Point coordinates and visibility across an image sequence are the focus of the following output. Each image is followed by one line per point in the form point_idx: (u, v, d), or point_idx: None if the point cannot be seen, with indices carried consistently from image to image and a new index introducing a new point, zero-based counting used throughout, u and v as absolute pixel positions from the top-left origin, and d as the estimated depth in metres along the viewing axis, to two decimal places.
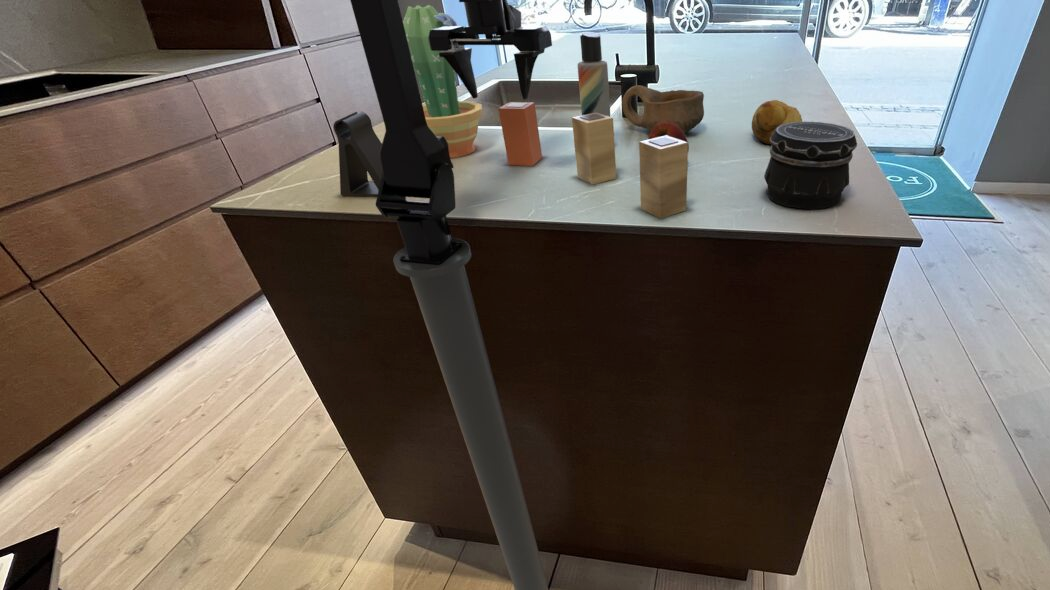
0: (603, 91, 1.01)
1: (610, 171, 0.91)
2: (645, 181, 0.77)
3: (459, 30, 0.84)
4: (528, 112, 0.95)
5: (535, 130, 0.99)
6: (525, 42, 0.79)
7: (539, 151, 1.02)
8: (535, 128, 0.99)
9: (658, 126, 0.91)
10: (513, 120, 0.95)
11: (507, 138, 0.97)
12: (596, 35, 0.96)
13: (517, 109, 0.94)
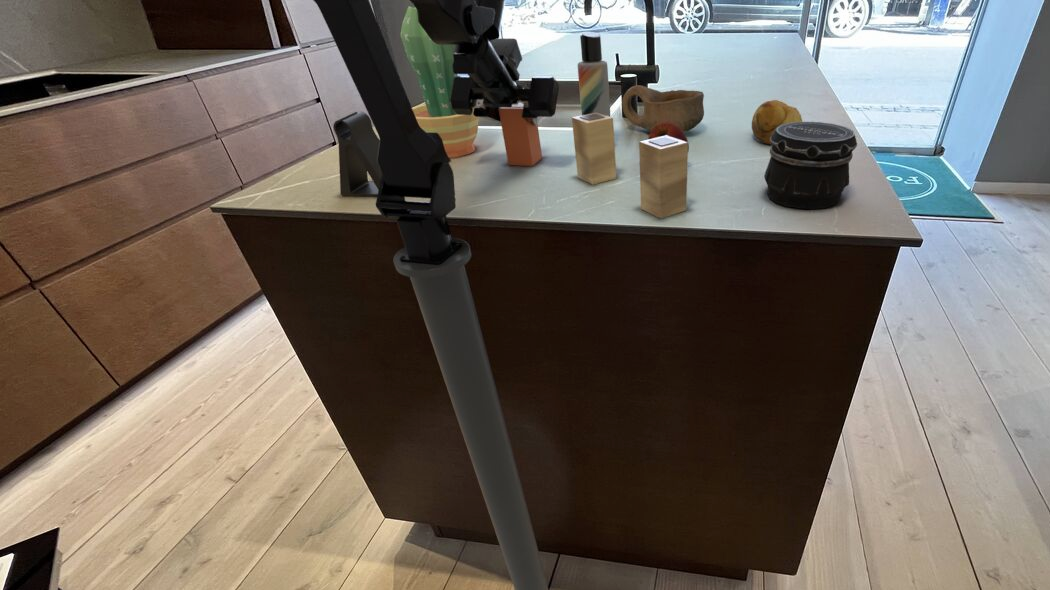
0: (603, 91, 1.01)
1: (610, 171, 0.91)
2: (645, 181, 0.77)
3: None
4: None
5: (535, 130, 0.99)
6: (541, 112, 0.89)
7: (539, 151, 1.02)
8: (535, 128, 0.99)
9: (658, 126, 0.91)
10: (513, 120, 0.95)
11: (507, 138, 0.97)
12: (596, 35, 0.97)
13: (517, 109, 0.94)
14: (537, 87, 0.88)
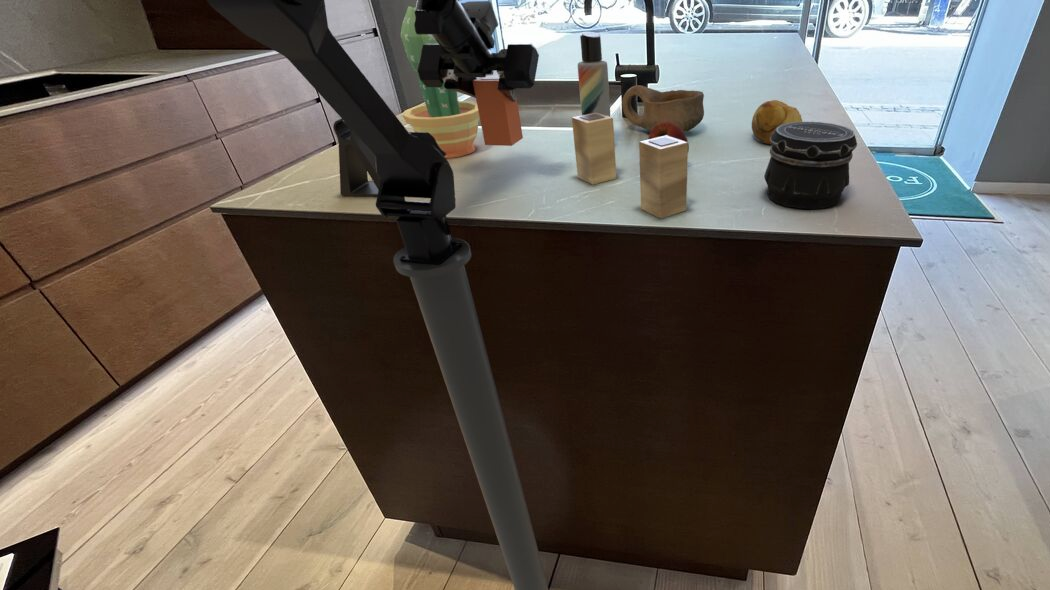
0: (603, 91, 1.01)
1: (610, 171, 0.91)
2: (645, 181, 0.77)
3: None
4: None
5: (514, 107, 0.90)
6: (518, 83, 0.80)
7: (519, 130, 0.92)
8: (514, 104, 0.90)
9: (658, 126, 0.91)
10: (489, 94, 0.86)
11: (482, 114, 0.88)
12: (596, 35, 0.97)
13: (493, 81, 0.85)
14: (514, 54, 0.79)
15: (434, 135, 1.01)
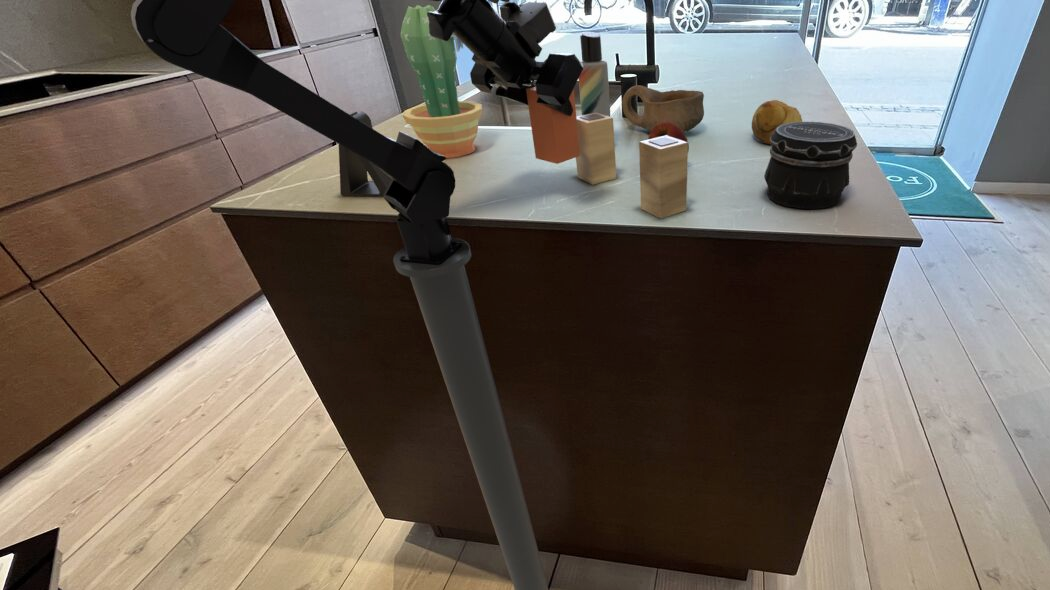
0: (603, 91, 1.01)
1: (610, 171, 0.91)
2: (645, 181, 0.77)
3: None
4: None
5: (569, 121, 0.80)
6: (549, 99, 0.70)
7: (574, 147, 0.83)
8: (570, 118, 0.80)
9: (658, 126, 0.91)
10: (539, 105, 0.77)
11: (534, 126, 0.80)
12: (596, 35, 0.97)
13: None
14: (550, 66, 0.69)
15: (434, 135, 1.01)
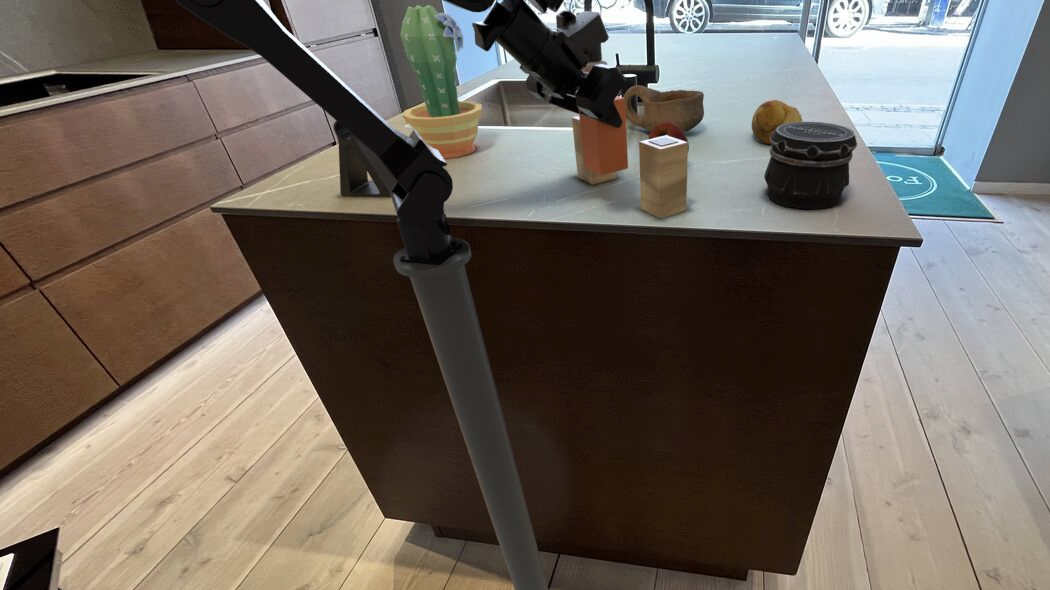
0: None
1: None
2: (645, 181, 0.77)
3: None
4: None
5: (618, 133, 0.78)
6: (588, 112, 0.68)
7: (622, 159, 0.80)
8: (619, 130, 0.78)
9: (658, 126, 0.91)
10: None
11: (583, 136, 0.79)
12: None
13: None
14: (591, 78, 0.67)
15: (434, 135, 1.01)
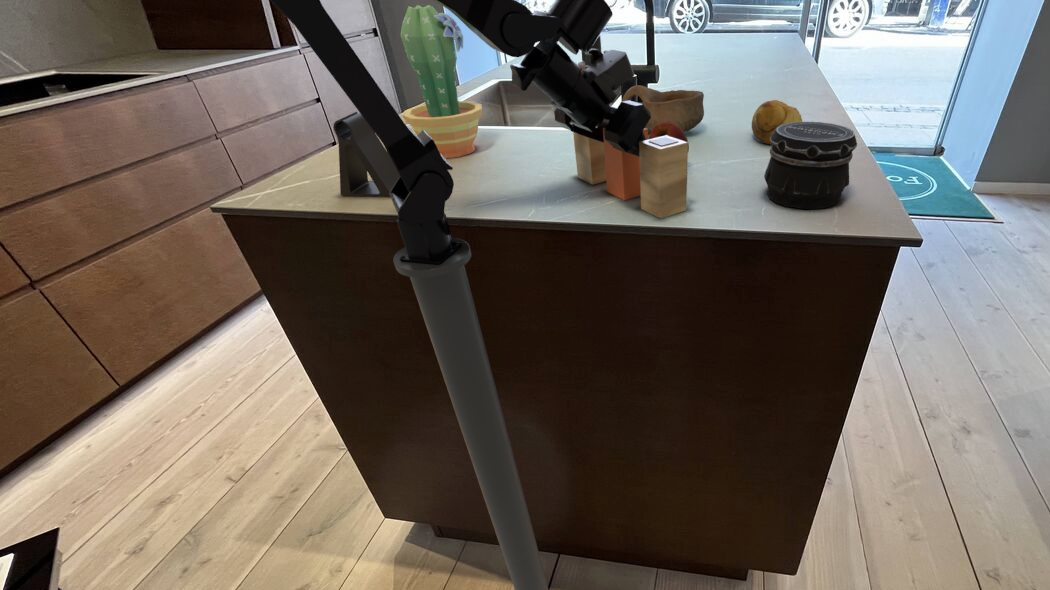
0: None
1: None
2: (645, 181, 0.77)
3: None
4: None
5: None
6: (615, 145, 0.73)
7: None
8: None
9: (658, 126, 0.91)
10: None
11: (607, 163, 0.84)
12: None
13: None
14: (619, 114, 0.72)
15: (434, 135, 1.01)
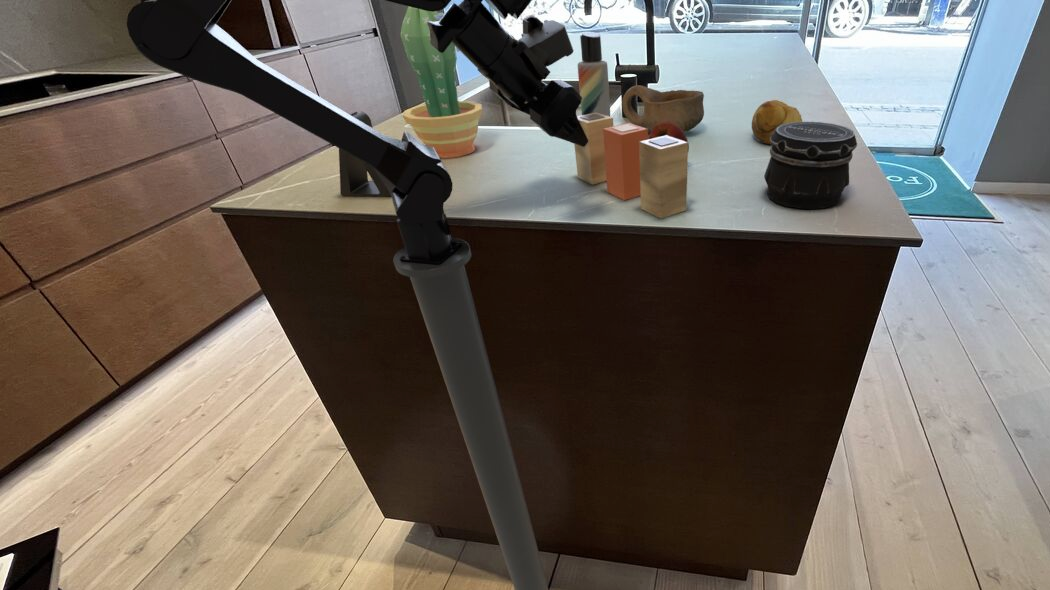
0: (603, 91, 1.01)
1: None
2: (645, 181, 0.77)
3: None
4: (630, 140, 0.79)
5: None
6: (540, 127, 0.67)
7: None
8: None
9: (658, 126, 0.91)
10: (612, 145, 0.81)
11: (607, 163, 0.84)
12: (596, 35, 0.97)
13: (616, 134, 0.79)
14: (547, 94, 0.65)
15: (434, 135, 1.01)
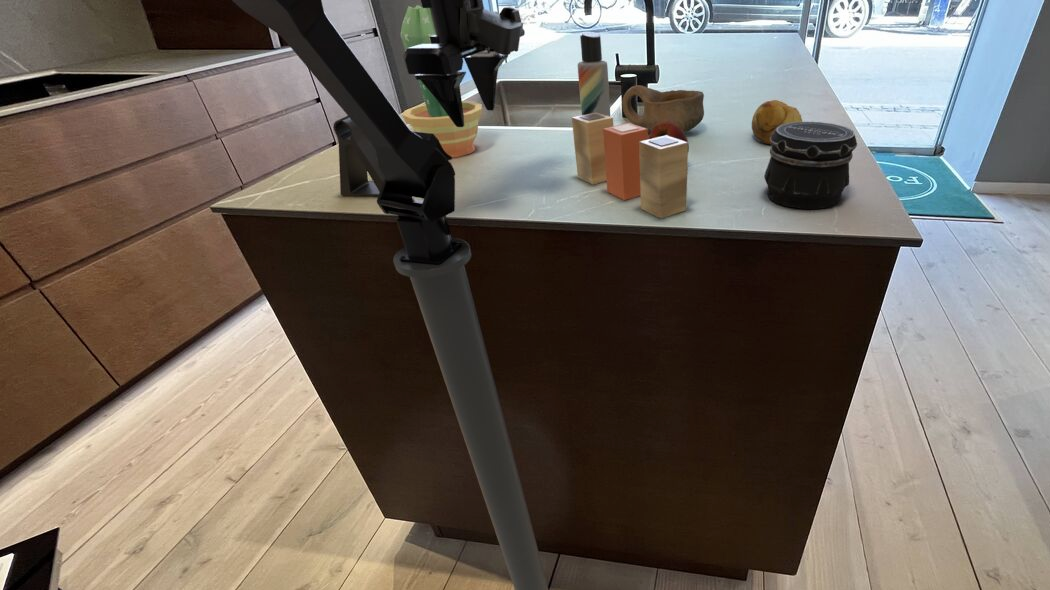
0: (603, 91, 1.01)
1: None
2: (645, 181, 0.77)
3: None
4: (630, 140, 0.79)
5: None
6: None
7: None
8: None
9: (658, 126, 0.91)
10: (612, 145, 0.81)
11: (607, 163, 0.84)
12: (596, 35, 0.97)
13: (616, 134, 0.79)
14: (435, 45, 0.65)
15: None
